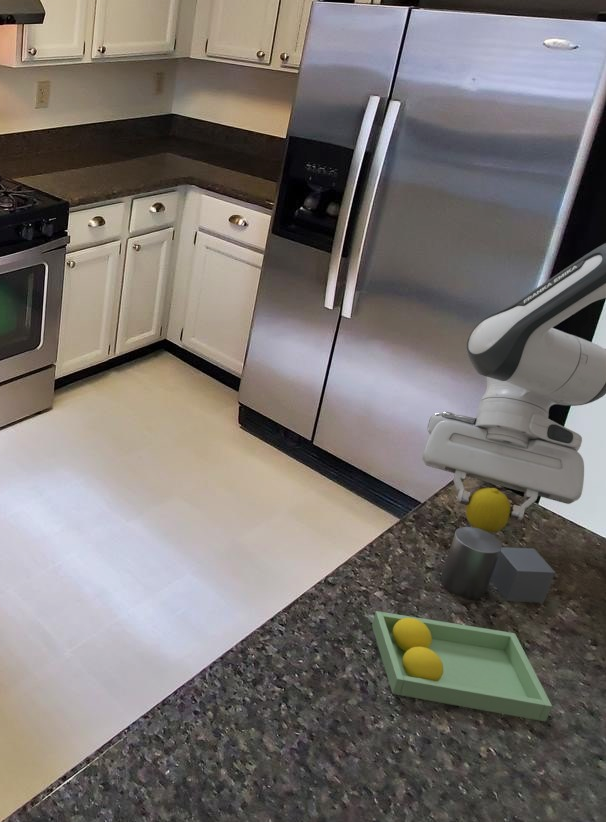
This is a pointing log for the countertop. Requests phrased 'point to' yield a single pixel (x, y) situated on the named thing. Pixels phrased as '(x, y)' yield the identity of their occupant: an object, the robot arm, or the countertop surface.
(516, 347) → the robot arm
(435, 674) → the small lemon
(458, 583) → the grey tin
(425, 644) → the small lemon
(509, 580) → the grey block
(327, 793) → the countertop surface
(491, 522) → the lemon
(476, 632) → the tray
